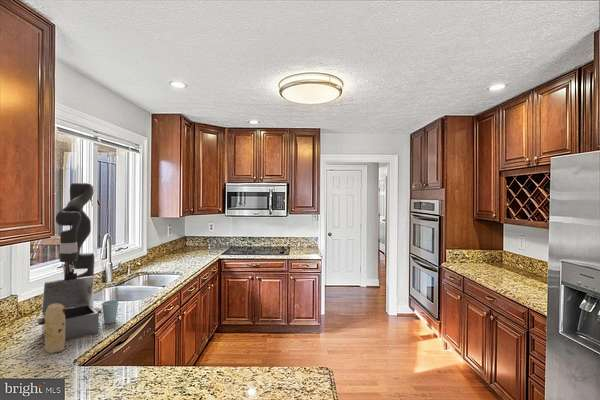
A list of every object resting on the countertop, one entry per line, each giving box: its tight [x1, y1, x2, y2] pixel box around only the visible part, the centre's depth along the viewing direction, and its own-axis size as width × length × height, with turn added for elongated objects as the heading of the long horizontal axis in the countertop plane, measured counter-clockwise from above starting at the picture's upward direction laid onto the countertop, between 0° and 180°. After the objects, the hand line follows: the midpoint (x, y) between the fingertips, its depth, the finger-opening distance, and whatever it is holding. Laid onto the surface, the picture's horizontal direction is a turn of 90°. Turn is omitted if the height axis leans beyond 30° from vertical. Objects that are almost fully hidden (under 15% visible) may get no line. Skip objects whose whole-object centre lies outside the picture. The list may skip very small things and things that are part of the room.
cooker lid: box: [41, 272, 95, 314], centre depth 175 cm, size 21×20×2 cm
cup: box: [101, 299, 119, 324], centre depth 188 cm, size 8×8×10 cm
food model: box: [44, 303, 66, 354], centre depth 152 cm, size 10×7×20 cm
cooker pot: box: [36, 305, 103, 342], centre depth 171 cm, size 18×26×10 cm
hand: (68, 286), depth 175 cm, fingers closed
